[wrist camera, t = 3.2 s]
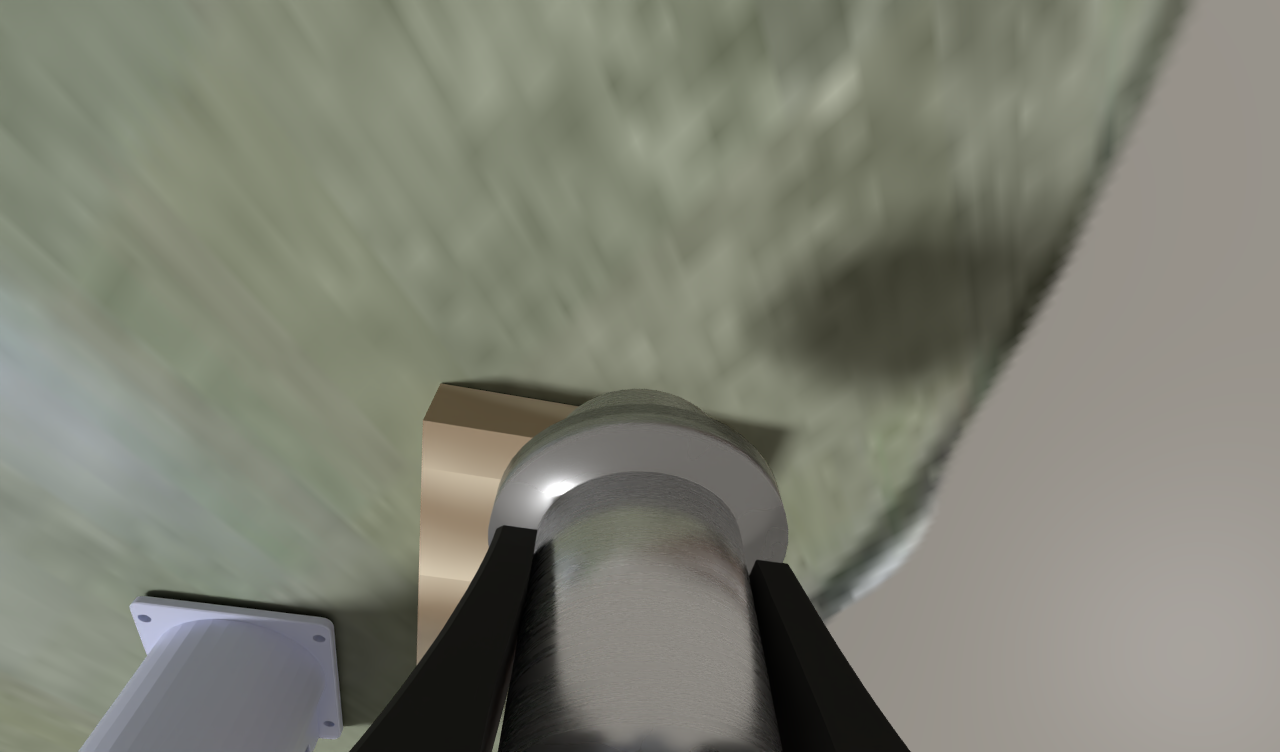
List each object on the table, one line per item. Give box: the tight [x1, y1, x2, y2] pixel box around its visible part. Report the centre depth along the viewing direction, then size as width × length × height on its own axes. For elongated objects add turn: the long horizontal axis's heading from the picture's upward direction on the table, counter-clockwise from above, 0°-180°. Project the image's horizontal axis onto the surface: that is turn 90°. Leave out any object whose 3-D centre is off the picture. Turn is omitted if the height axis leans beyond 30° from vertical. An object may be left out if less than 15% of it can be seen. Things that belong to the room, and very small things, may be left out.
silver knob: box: [488, 389, 788, 752], centre depth 11 cm, size 6×6×7 cm
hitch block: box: [417, 384, 579, 665], centre depth 23 cm, size 13×10×2 cm
